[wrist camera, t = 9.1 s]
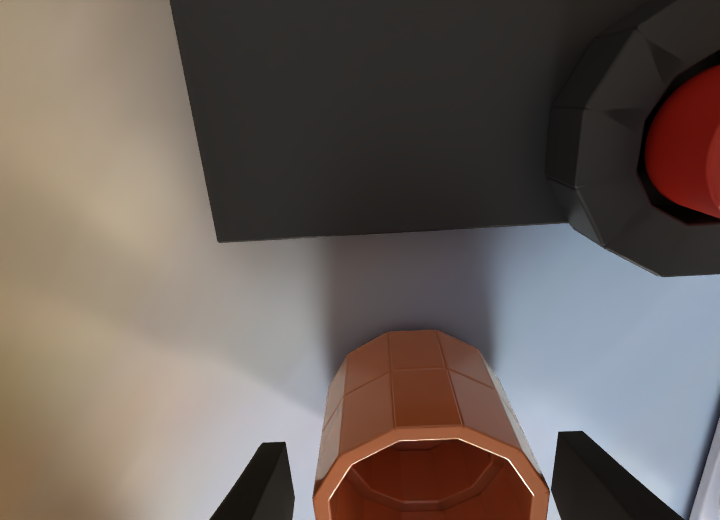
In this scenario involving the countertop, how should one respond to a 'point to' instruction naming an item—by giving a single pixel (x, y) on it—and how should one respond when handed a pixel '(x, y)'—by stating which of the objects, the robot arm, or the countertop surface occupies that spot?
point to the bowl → (423, 437)
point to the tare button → (688, 144)
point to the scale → (445, 117)
